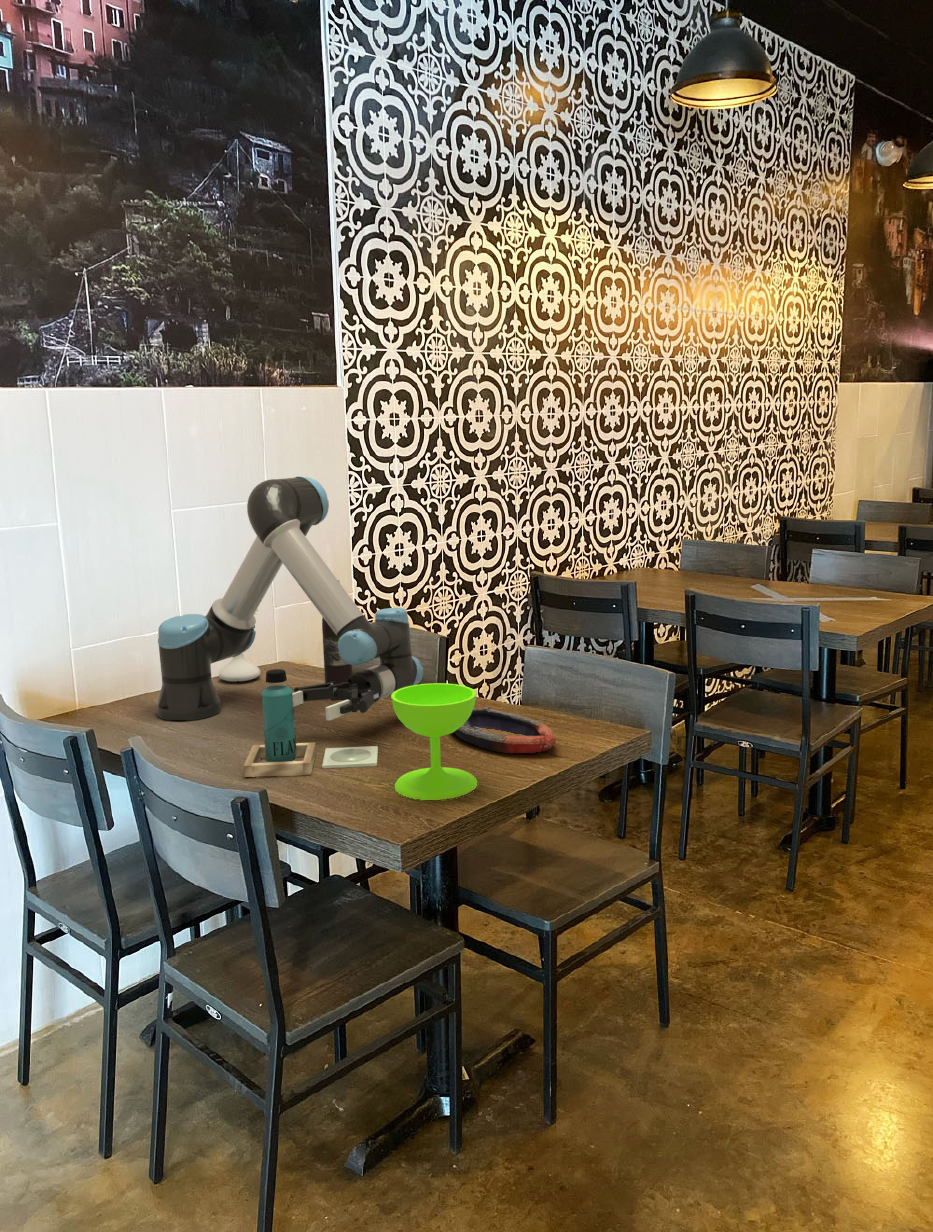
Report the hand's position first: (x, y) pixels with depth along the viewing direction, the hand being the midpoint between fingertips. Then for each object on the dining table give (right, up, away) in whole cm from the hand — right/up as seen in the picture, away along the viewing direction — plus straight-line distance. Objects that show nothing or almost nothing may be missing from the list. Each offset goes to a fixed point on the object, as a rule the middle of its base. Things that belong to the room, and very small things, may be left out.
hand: (302, 709), depth 203 cm
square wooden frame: (-4, -11, -3) cm, 12 cm away
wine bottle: (+1, -1, +49) cm, 50 cm away
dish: (+41, -8, +10) cm, 43 cm away
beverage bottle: (-4, -11, -3) cm, 12 cm away
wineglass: (+28, -13, -16) cm, 35 cm away
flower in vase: (-28, +2, +69) cm, 75 cm away
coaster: (+10, -10, +1) cm, 14 cm away
